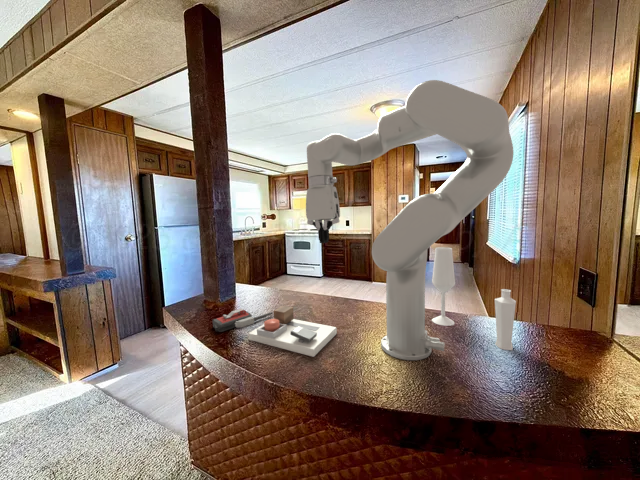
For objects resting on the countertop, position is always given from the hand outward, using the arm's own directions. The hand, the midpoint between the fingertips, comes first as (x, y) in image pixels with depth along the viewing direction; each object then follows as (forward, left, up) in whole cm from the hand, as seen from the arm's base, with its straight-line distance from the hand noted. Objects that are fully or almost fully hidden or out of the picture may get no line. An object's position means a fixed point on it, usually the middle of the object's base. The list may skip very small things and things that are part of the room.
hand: (324, 242), depth 80 cm
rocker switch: (0, +14, -24) cm, 28 cm away
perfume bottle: (-48, -7, -28) cm, 56 cm away
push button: (+11, +14, -24) cm, 30 cm away
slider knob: (+12, +7, -25) cm, 28 cm away
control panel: (+6, +11, -27) cm, 30 cm away
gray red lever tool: (+28, +9, -28) cm, 41 cm away
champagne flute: (-33, -18, -28) cm, 47 cm away
